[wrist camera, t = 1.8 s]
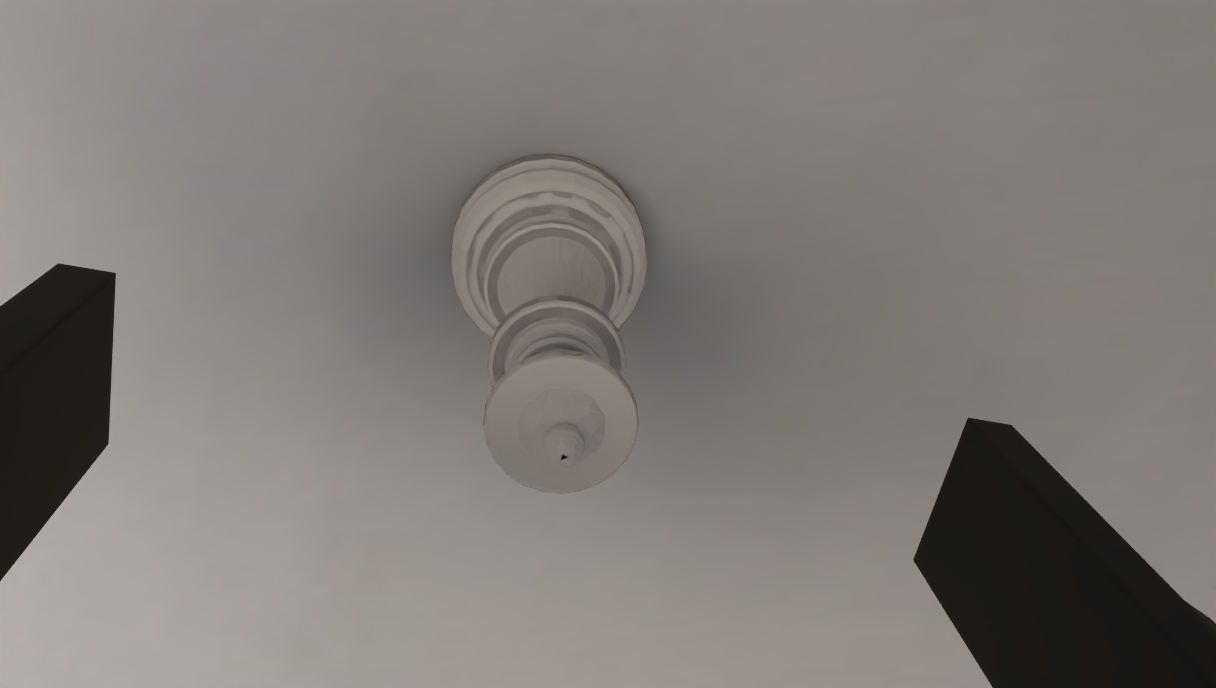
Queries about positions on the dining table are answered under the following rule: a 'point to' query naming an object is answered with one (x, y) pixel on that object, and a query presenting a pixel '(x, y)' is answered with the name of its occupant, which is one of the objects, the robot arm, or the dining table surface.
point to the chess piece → (553, 316)
